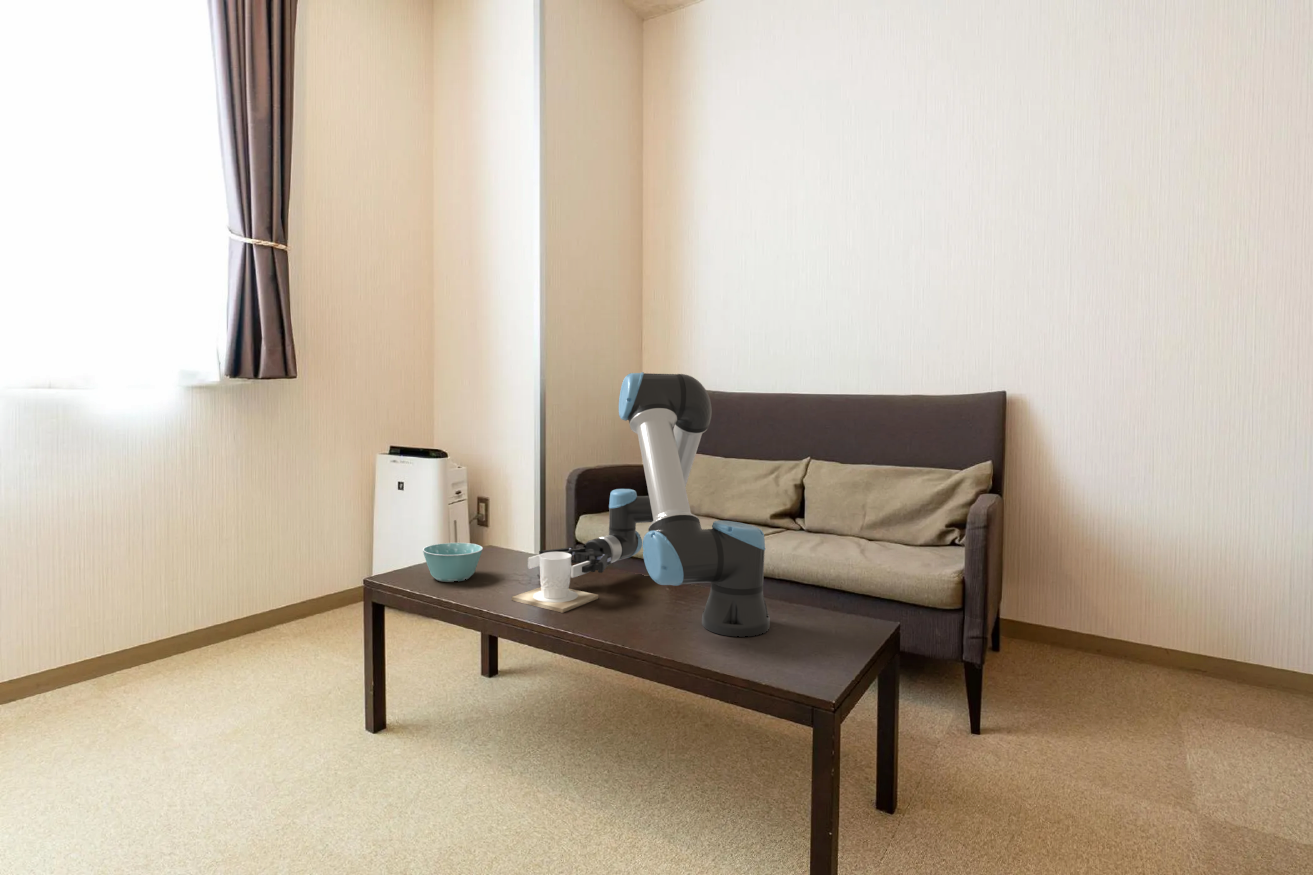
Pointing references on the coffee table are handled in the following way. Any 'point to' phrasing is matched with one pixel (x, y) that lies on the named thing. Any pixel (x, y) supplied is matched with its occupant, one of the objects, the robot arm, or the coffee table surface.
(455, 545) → the bowl
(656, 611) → the coffee table surface
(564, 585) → the white cup
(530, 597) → the coaster board
